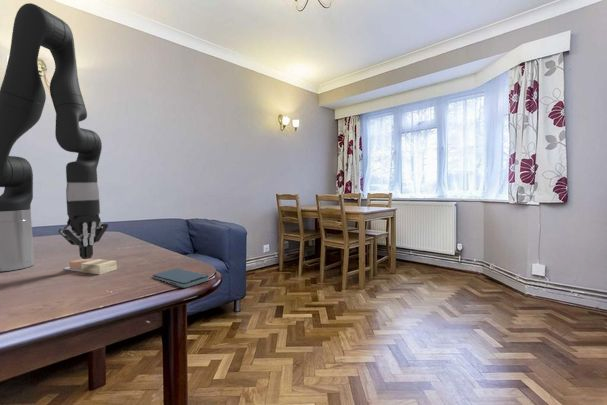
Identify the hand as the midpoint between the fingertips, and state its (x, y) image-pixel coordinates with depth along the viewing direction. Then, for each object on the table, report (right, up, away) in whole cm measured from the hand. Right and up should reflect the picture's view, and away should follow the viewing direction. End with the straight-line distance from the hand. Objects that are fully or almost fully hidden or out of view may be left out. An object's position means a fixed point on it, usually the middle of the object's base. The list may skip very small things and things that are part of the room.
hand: (86, 258), depth 85 cm
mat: (-3, -3, +1) cm, 4 cm away
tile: (-2, -3, +1) cm, 3 cm away
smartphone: (+31, -4, -9) cm, 33 cm away
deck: (+5, -3, -1) cm, 6 cm away
